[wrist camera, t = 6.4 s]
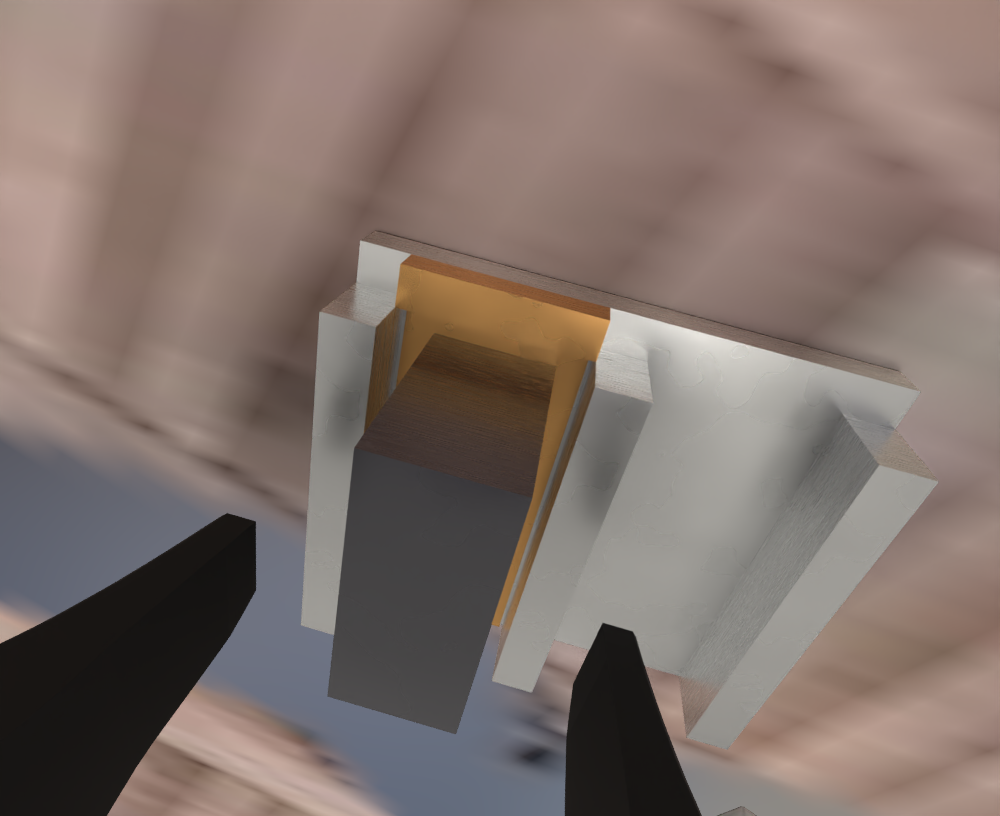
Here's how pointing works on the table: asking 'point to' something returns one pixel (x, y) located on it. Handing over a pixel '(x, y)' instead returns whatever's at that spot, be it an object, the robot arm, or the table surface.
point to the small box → (738, 812)
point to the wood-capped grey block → (435, 528)
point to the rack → (636, 471)
